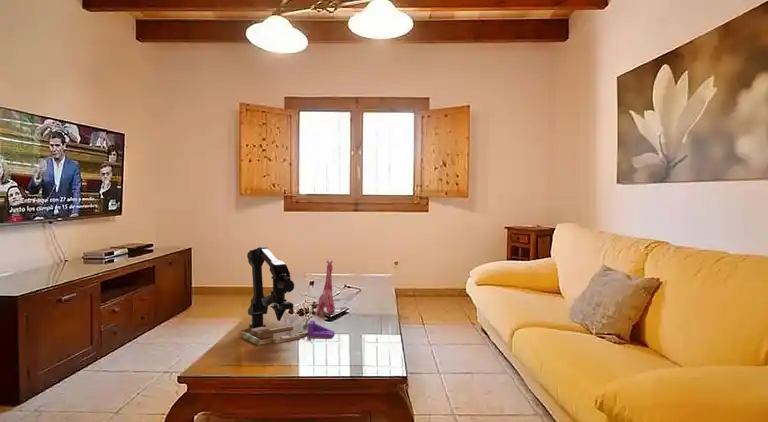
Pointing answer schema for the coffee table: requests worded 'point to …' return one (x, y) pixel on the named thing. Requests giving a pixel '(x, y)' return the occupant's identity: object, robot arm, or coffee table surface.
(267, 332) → the block
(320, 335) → the bracket
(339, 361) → the coffee table surface
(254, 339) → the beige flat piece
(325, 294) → the toy
